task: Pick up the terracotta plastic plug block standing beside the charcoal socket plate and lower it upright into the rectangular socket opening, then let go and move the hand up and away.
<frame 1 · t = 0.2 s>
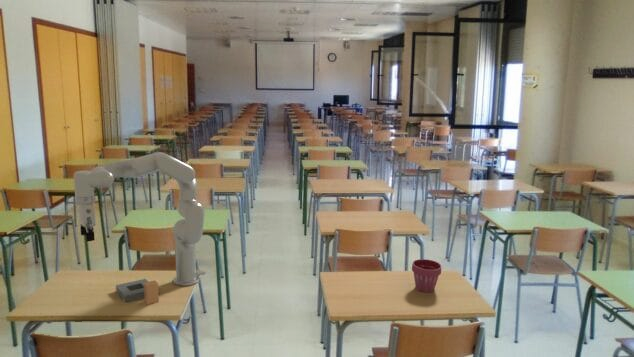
hand: (87, 237, 223), 31 cm above the table, tool pointing down, fingers open, 9 cm apart
socket plate: (135, 292, 241), on the table
plant pot: (425, 288, 254), on the table
plug: (151, 301, 232), on the table
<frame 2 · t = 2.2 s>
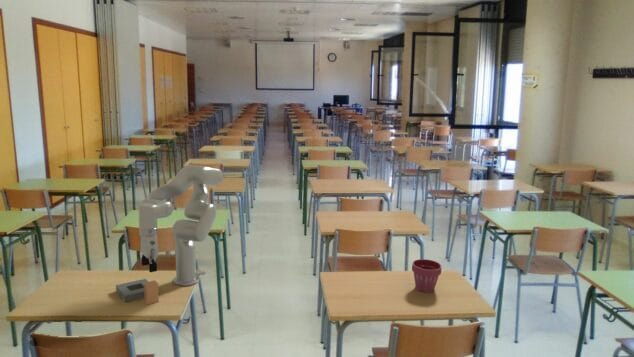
hand: (149, 268, 228), 16 cm above the table, tool pointing down, fingers open, 9 cm apart
nothing on the table moved.
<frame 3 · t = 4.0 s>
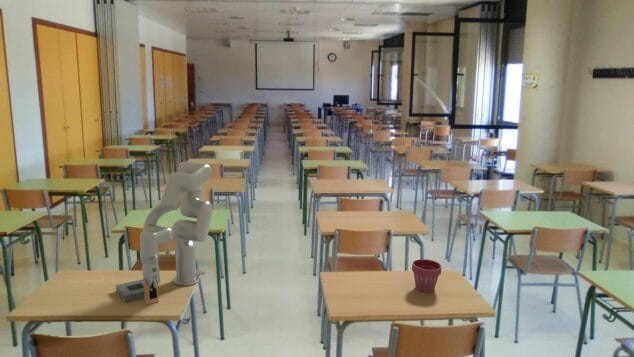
hand: (151, 296, 232), 3 cm above the table, tool pointing down, fingers closed on plug, 3 cm apart
plug: (151, 301, 232), on the table, touching gripper
everything else where it was.
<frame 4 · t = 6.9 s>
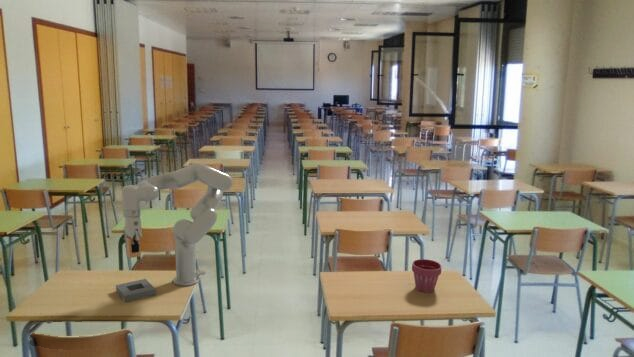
hand: (133, 250, 236), 21 cm above the table, tool pointing down, fingers closed on plug, 4 cm apart
plug: (133, 255, 237), point 19 cm above the table, touching gripper
everything else where it was.
when the fingers open (4 cm above the table, at t = 9.7 s): plug stays where it is, resting in socket plate.
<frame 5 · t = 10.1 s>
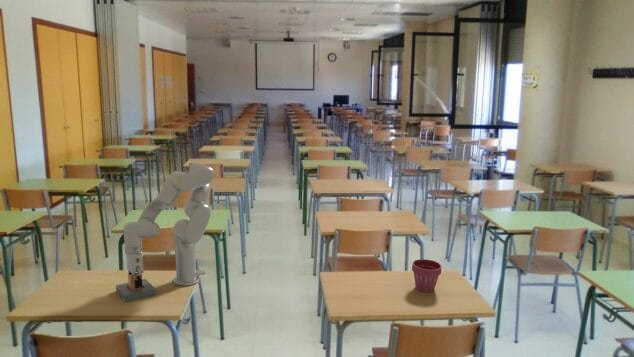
hand: (135, 283, 240), 5 cm above the table, tool pointing down, fingers open, 8 cm apart
plug: (135, 293, 241), resting in socket plate
everything else where it was.
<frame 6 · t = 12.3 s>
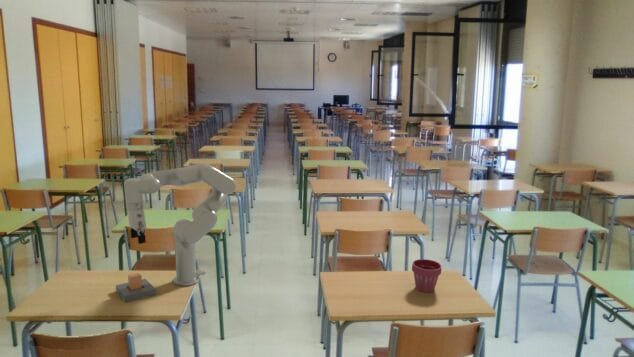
hand: (138, 240, 239), 25 cm above the table, tool pointing down, fingers open, 9 cm apart
nothing on the table moved.
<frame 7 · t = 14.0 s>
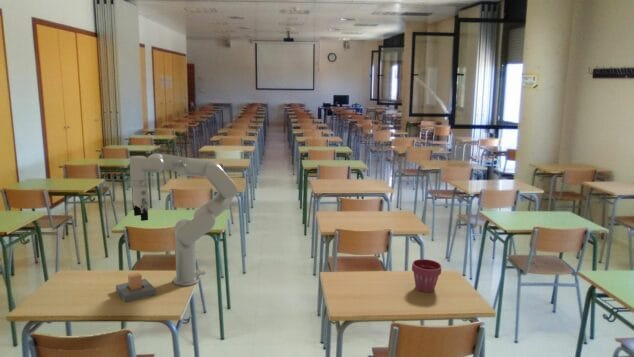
hand: (141, 217, 242), 34 cm above the table, tool pointing down, fingers open, 9 cm apart
nothing on the table moved.
at the end: plug 0.1 cm off-centre on the socket plate, point 0.0 cm above the socket plate's base; plug tilted 0°; the gripper is holding nothing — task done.
